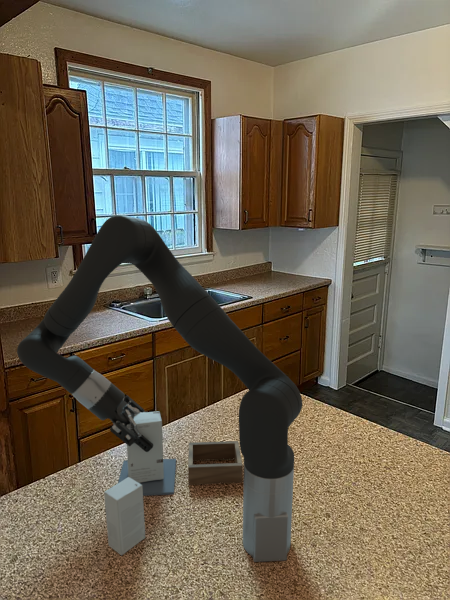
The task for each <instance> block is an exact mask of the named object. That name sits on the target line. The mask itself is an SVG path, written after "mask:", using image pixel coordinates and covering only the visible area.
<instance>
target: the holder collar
mask: <svg viewBox="0 0 450 600" xmlns="http://www.w3.org/2000/svg"><path fill="white" fill-rule="evenodd" d="M187 457H188V461H187V463H188V465H187V466H188V468H187V471H188V473H187V474H188V475H187V476H188V485H193V486H194V485H215V484H217V485H218V484H237V483H238V484H241V483H243V470H244V464H243V460H242V453H241V449H240V441H239V440H227V441H224V440H223V441H198V442H197V441H195V442H193V441H192V442H188V456H187ZM219 460H220V461H222V460H234V462H233V463H232V462H229V463H208V464H207V463H205V464H204V463H203V464H194V462H195V461H219Z"/></svg>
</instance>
